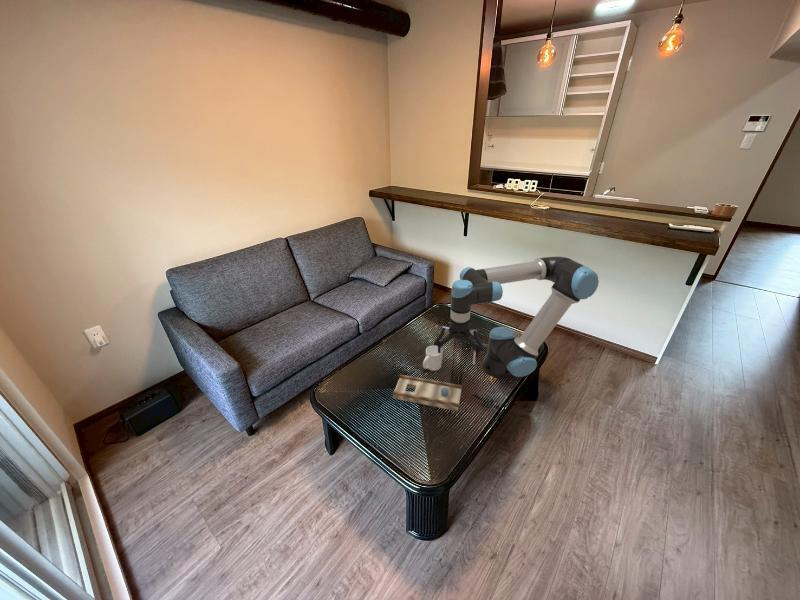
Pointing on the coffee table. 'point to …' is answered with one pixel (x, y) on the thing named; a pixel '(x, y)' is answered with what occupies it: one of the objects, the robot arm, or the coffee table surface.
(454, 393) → the tray
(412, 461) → the coffee table surface
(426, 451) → the coffee table surface
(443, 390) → the ball
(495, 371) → the robot arm
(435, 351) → the mug
